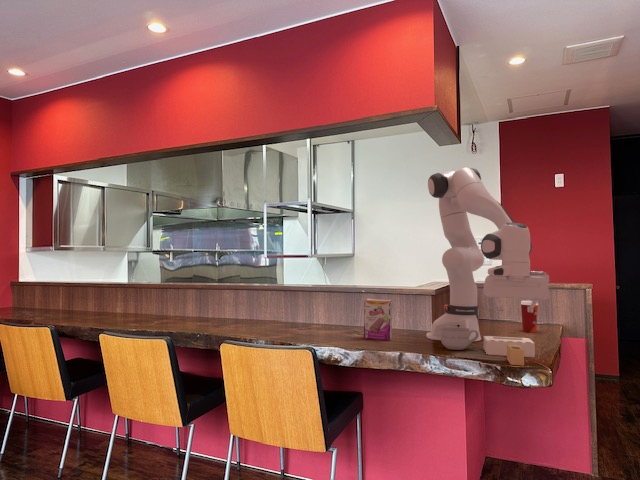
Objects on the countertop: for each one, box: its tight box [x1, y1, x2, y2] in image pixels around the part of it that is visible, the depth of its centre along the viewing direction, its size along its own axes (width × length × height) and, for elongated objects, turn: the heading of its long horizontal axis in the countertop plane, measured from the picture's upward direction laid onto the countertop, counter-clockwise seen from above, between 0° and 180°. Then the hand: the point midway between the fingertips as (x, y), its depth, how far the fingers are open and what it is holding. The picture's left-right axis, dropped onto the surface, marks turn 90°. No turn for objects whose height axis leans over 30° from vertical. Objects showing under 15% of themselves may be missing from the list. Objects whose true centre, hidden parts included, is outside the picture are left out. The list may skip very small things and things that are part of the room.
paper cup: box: [520, 300, 539, 334], centre depth 208 cm, size 8×8×14 cm
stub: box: [506, 344, 525, 367], centre depth 151 cm, size 4×8×5 cm, turn 166°
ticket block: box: [483, 335, 536, 358], centre depth 164 cm, size 16×9×5 cm, turn 76°
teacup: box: [440, 327, 479, 351], centre depth 171 cm, size 14×11×8 cm
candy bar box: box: [363, 298, 393, 342], centre depth 188 cm, size 11×5×16 cm, turn 71°
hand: (515, 311), depth 151 cm, fingers open, 8 cm apart
